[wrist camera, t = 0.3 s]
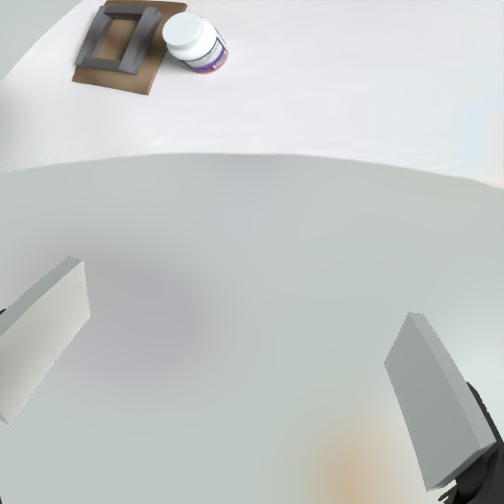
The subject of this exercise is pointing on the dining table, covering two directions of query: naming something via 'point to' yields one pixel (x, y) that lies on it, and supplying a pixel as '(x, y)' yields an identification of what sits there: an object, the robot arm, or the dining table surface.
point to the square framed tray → (125, 44)
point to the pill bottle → (195, 42)
